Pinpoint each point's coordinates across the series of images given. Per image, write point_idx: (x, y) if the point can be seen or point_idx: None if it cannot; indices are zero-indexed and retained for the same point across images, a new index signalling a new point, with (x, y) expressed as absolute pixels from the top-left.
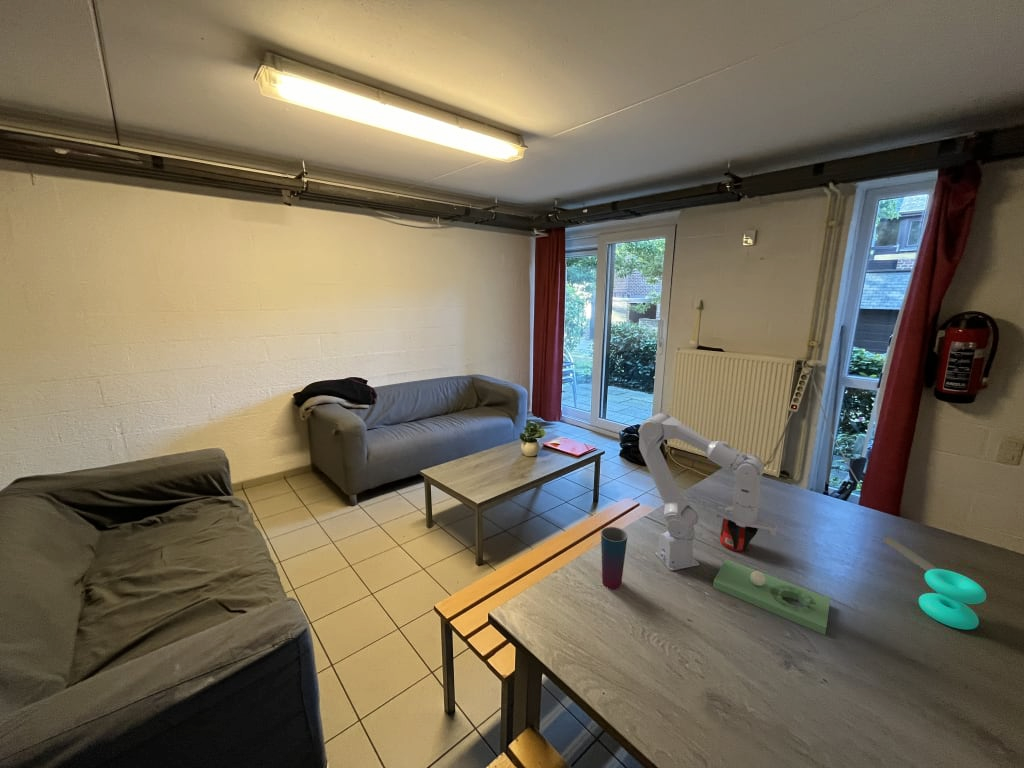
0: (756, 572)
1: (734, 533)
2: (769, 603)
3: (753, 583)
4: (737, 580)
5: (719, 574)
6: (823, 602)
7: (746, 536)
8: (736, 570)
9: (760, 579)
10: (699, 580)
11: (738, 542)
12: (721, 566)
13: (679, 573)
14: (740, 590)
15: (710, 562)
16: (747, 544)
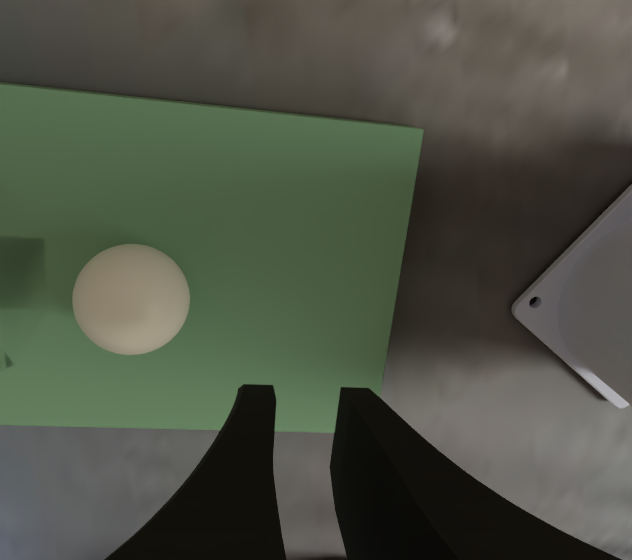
0: (137, 315)
1: (478, 533)
2: (17, 94)
3: None
4: (270, 240)
5: (393, 235)
6: None
7: (236, 550)
8: (293, 351)
9: (101, 266)
10: (495, 149)
11: (339, 495)
12: (389, 336)
13: (623, 145)
14: (233, 128)
15: (445, 380)
16: (214, 448)
